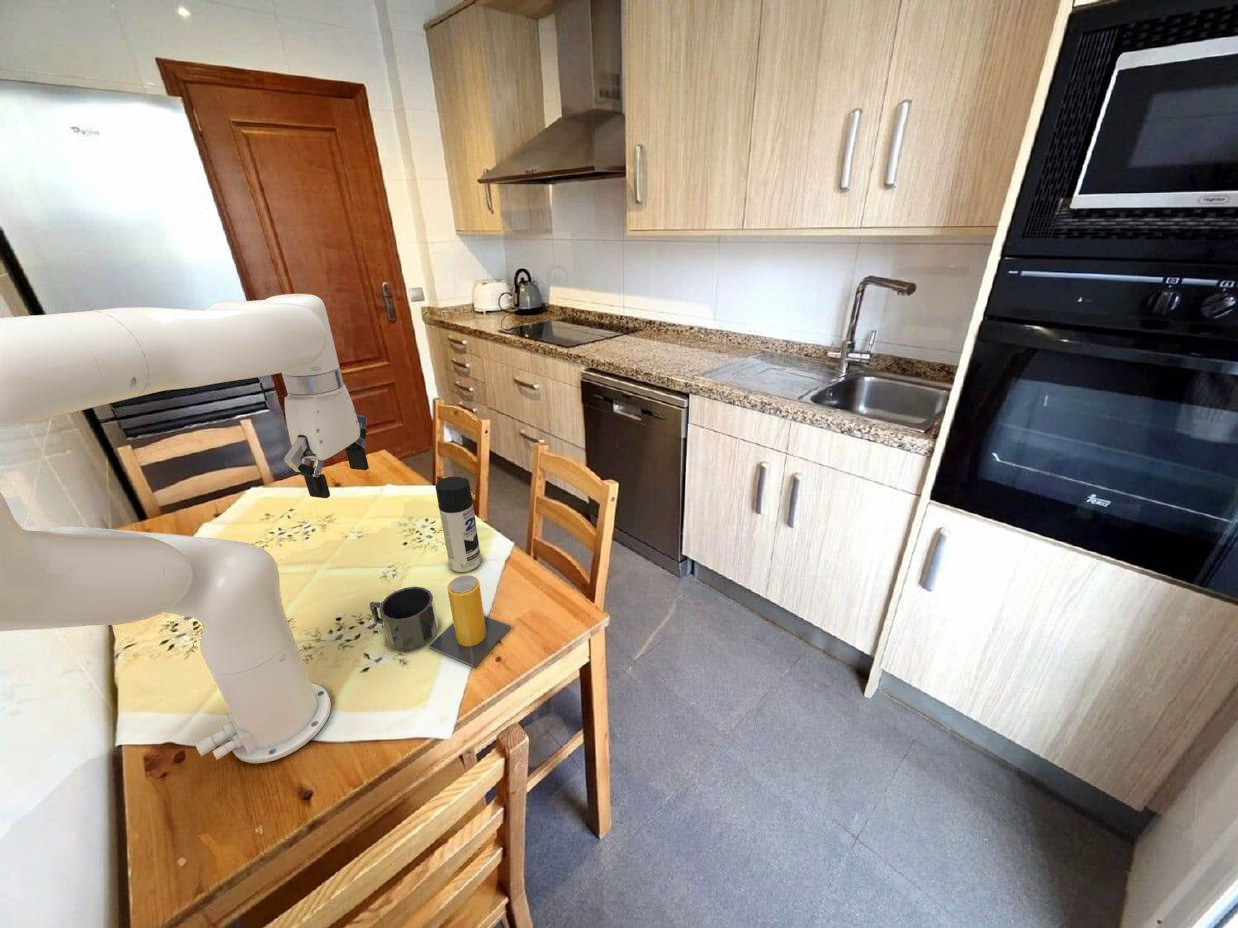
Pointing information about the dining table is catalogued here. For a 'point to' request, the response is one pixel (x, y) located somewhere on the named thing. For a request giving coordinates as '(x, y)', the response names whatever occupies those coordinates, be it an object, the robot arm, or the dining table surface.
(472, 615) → the can
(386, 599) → the mug
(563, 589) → the dining table surface
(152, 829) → the dining table surface
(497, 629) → the coaster
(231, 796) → the dining table surface
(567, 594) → the dining table surface
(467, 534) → the spray can
